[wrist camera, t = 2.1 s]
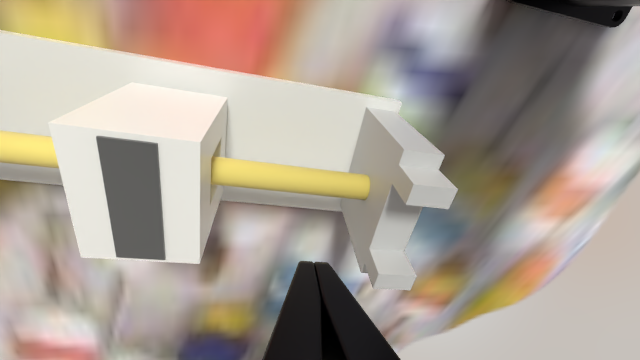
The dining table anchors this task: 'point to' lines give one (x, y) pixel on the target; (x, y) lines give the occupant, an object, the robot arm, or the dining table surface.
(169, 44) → the dining table surface
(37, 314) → the dining table surface
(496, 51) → the dining table surface
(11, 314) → the dining table surface
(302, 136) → the cord rig
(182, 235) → the marker sleeve
